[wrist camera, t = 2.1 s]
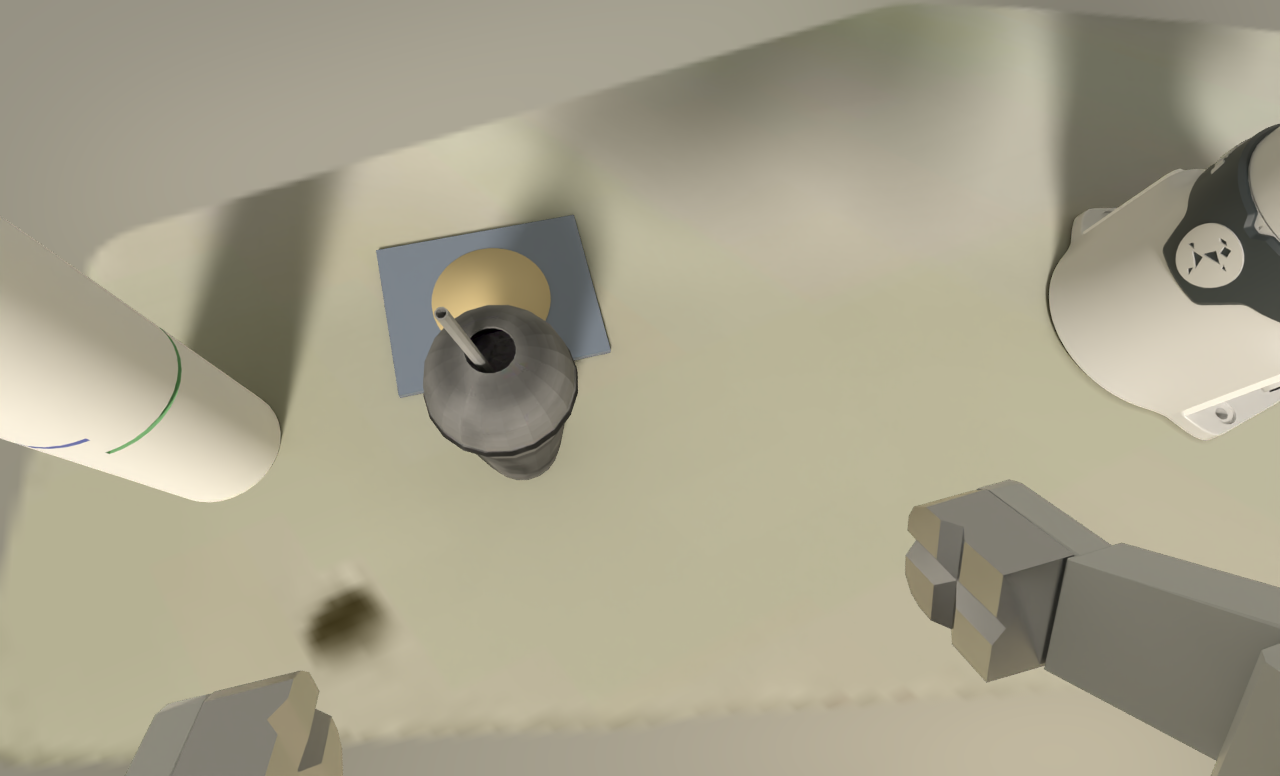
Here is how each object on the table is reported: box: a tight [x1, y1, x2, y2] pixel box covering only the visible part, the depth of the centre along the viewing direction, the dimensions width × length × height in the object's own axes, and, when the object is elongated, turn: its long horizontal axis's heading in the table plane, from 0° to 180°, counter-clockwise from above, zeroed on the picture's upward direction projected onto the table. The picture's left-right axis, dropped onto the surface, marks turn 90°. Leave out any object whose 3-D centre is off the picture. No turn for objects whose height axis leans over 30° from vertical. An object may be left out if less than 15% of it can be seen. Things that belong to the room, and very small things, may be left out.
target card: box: [376, 215, 611, 398], centre depth 45 cm, size 14×11×1 cm
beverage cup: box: [423, 305, 578, 480], centre depth 33 cm, size 7×7×20 cm
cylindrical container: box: [0, 216, 281, 502], centre depth 29 cm, size 7×7×25 cm
